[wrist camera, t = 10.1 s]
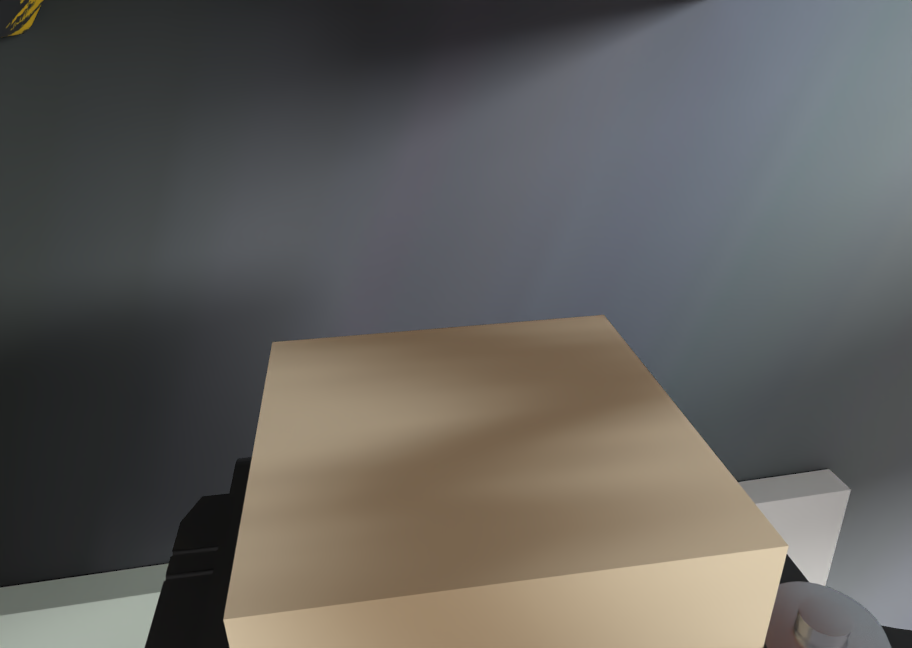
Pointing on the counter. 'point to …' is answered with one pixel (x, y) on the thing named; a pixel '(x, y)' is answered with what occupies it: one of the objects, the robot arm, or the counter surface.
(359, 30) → the counter surface
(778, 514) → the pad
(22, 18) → the medicine bottle
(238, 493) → the robot arm
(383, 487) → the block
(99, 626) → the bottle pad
